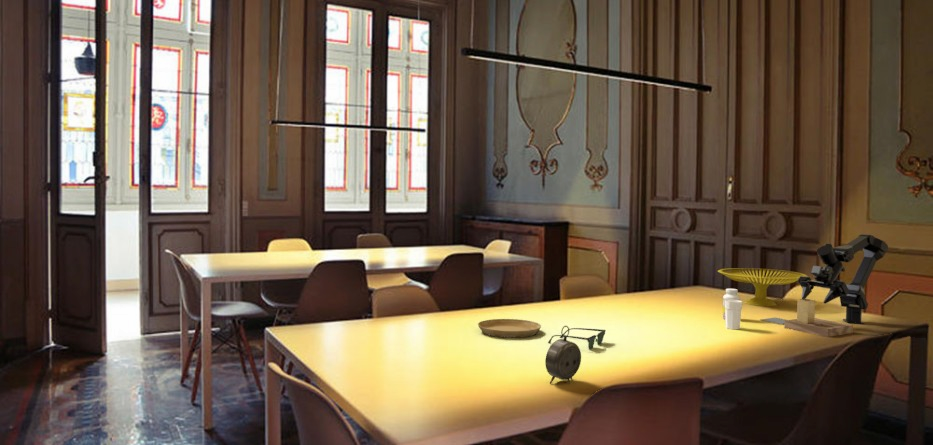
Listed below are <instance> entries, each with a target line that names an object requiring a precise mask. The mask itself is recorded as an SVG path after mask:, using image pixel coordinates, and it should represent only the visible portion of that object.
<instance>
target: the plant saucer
mask: <svg viewBox="0 0 933 445" xmlns="http://www.w3.org/2000/svg"><path fill="white" fill-rule="evenodd" d="M477 326H478V329H480V331H482V332H483V333H484V334H486V335H488V336H491V337H497V338H509V339H510V338H511V339H513V338H515V339H518V338H526V337H531V336H533V335H536V334H537V333H538V332H539V331H540V330H541V328H542V324H541V323H538V322H535V321H532V320H531V321H530V320H527V319H526V320H524V319H517V318H516V319H514V318H493V319H485V320H481V321H479V322H478V323H477Z"/></svg>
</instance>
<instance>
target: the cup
mask: <svg viewBox="0 0 933 445" xmlns="http://www.w3.org/2000/svg"><path fill="white" fill-rule="evenodd" d="M742 309H743V300H741V299H740V300H725V319H724V320H725V328H726V329H727V328H728V329H727V330H733V329H738V330H740V329H741V318H742Z"/></svg>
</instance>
